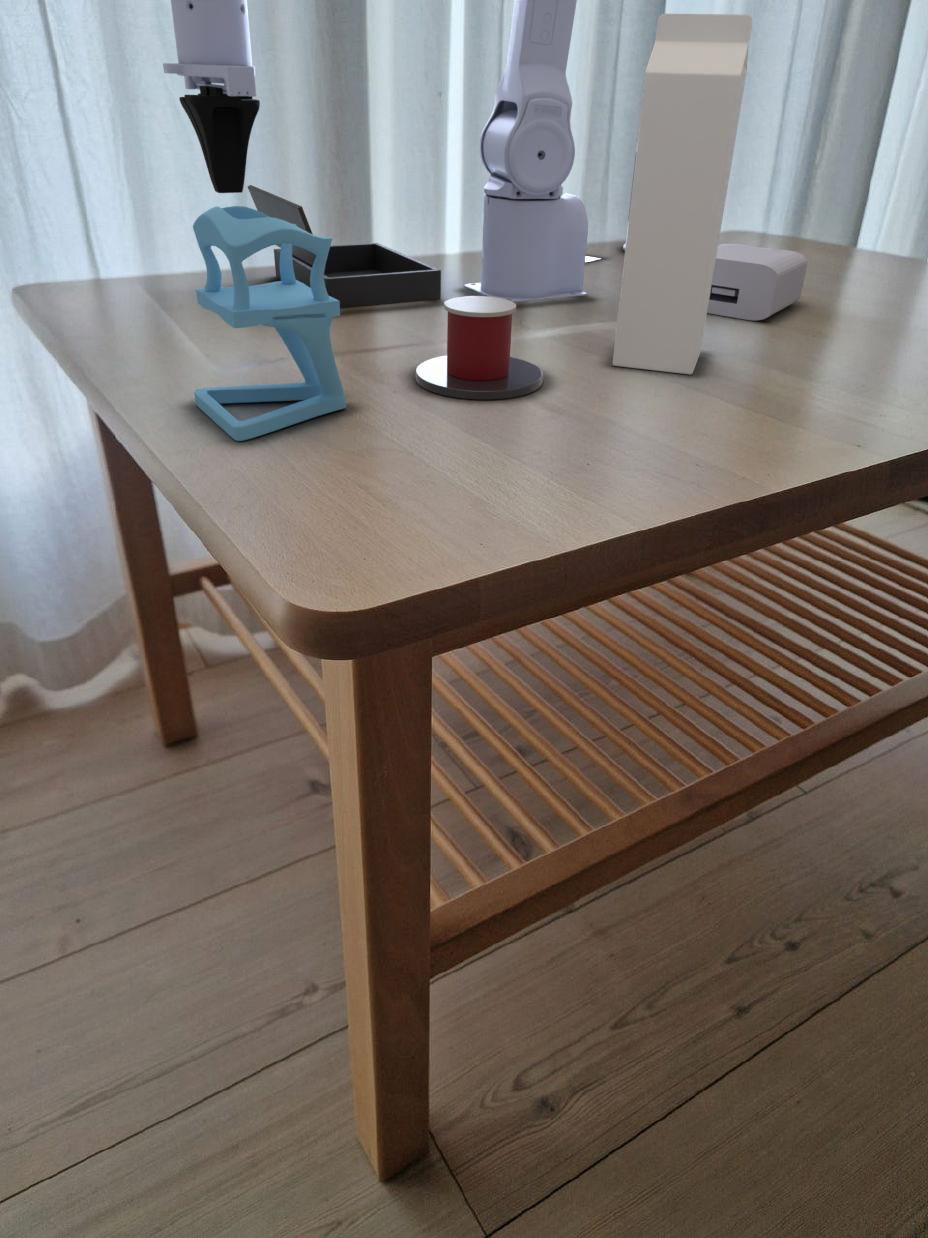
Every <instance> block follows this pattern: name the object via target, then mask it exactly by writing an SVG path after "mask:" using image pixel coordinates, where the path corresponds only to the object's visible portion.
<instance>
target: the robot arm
mask: <svg viewBox="0 0 928 1238" xmlns="http://www.w3.org/2000/svg"><path fill="white" fill-rule="evenodd" d="M577 2H578V0H513V9H512V17H511V25H510V34H509V40H508V50H507V58H506V66H505V68H504V71H503V74H502V76H501V78H500V81H499V83H498V85H497V88H496V91H495V97H494V103H493V104H494V105H493V108H492V113H491V115H490V116H489V118H488V120H487V121H486V123H485V125H484V127H483V128H482V132H481V134H480V138H479V155H480V159H481V160H480V161H481V162H482V165H483V168H484V169H485V170H486V172H487V173H488V174H489V178H488V180H487V183H486V184H485V185H484V187H483V193H484V194H483V205H482V206H483V207H482V208H483V209H482V210H483V211H482V237H481V239H482V240H481V266H480V267H481V268H480V269H481V270H480V282H474V283H465V284H464V285H463V287H464V288H465V289H468V290H471V291H473V292H474V293H477V294H480V295H481V296H489V297H497V298H503V299H507V300H510V301H512V302H514V303H523V302H532V301H543V300H554V299H563V298H564V299H565V298H573V297H584V296H587V295H588V293H587V292H585V291H583V289H584V279H585V277H584V276H585V267H586V262H585V258H586V256H587V247H588V246H587V245H588V234H589V220H588V214H587V210H586V206H585V205H584V203H583V201H582V200H581V199H580V198H579V196H577V195H575V194H572V193H564V186H562V185H563V184H564V183H565V182H566V180H567V179H568V177H569V176H570V173H571V171H572V169H573V166H574V163H575V157H576V145H575V140H574V136H573V132H572V125H571V115H572V108H573V98H572V94H571V90H570V87H569V82H568V78H567V66H568V60H569V54H570V48H571V40H572V35H573V27H574V21H575V15H576V7H577ZM170 5H171V11H172V12H171V13H172V14H171V15H172V22H173V29H174V31H173V32H174V39H175V47H176V56H177V63H174V62H173V63H171V62H169V63H168V62H163V63H162V67H163V68H162V69H163V73H164V74H173V75H175V74H176V75H177V76H180V77H183V78H184V79H183V80H184V86H185V89H186V90H197V91H199V93H197V94H184V96H180V97H178V98H179V102H180V105H181V108H183V110H184V112H185V114H186V115H187V117H188V119H189V121H190V124H191V125H192V128H193V129H194V132H195V134H196V136H197V139H198V142H199V145H200V148H201V151H202V155H203V157H204V161H205V165H206V168H207V172H208V175H209V178H210V181H211V184H212V187H213V189H214V191H215V193H217V194H236V193H237V194H238V193H239V194H240V193H243V191H244V185H245V178H246V169H247V158H248V149H249V143H250V138H251V135H252V134H251V133H252V129H253V126H254V123H255V121H256V117H257V115H258V113H259V110H260V106H261V104H260V103H261V102H260V100H259V99H255V97H257V88H256V75H257V73H256V66H255V65H253V56H252V47H251V46H252V45H251V44H252V43H251V31H250V22H249V21H250V20H249V10H248V9H249V8H248V0H170Z"/></svg>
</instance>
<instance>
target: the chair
mask: <svg viewBox="0 0 928 1238" xmlns="http://www.w3.org/2000/svg"><path fill="white" fill-rule="evenodd" d="M192 229H193V232H194V235H195V238H196V242H197V244H198V248H199V250H200V253H201V255H202V258H203V261H204V264H205V268H206V282H205V286H204V288H195V293H196V301H197V305H199V306H200V307H202V308H203V309H206V310H208V311H210V312H211V311H212V312H213V313H214V314H216V315H217V316H219V317H220V319H222V320H223V321H224V323H226V324H227V325H229V326H230V327H232V328H233V329H243V328H250V327H258V326H264V327H269V328H274V329H275V331H276V332H277V334H278V336H280V338H281V340H282V341H283V344H284V345H285V346H286V348H287V350H288V352H289V353H290V355H291V357H292V359H293V361H294V363H295V364H296V366H297V368H298V369H299V371H300V373H301V375H302V377H303V379H304V382H303V381H302V382H295V383H293V382H291V383H276V384H275V383H274V384H252V385H232V386H231V385H230V386H215V387H204V388H198V389H195V390H194V392H193V395H194V399H195V404H196V407H197V408H198V409H200V410H201V411H202V412H203V413H204V414H205V415H206V416H207V417H209V418H210V419H211V421H212V422H214V423H215V424H216V425H217V426H218V427H220V429H222V430H223V431H224V432H225V433H226V434H227V435H228V436H229V437H231V438H232V439H233V441H236V442H242V441H243V442H244V441H247V440H251V439H254V438H257V437H260V436H264V435H266V434H269V433H273V432H276V431H278V430H281V429H284V428H286V427H290V426H293V425H295V424H299V423H301V422H304V421H307V420H310V419H313V418H316V417H320V416H322V415H326V414H329V413H333V412H336V411H340V410H344V409H346V408H347V401H346V394H345V391H344V387H343V384H342V380H341V377H340V373H339V371H338V367H337V363H336V359H335V355H334V351H333V345H332V340H331V326H332V325H331V324H332V322H333V320H334V319H335V318H337V317H340V316H341V309H340V301H339V300H337V299H335V298H333V297H331V296H328V294H327V291H326V288H325V283H324V270H325V264H326V260H327V257H328V252H329V249H330V246H332V241H333V237H331V236H320V235H316V234H314V233H313V234H310V233H308V232H306V231H305V230H303V229H301V228H299V227H297V226H296V224H291V223H289V222H286V221H284V220H281V219H277V218H271V217H269V216H267V215H265V214H263V213H261V212H259V211H257V209H256V208H255V209H254V208H251V207H248V206H242V205H232V206H226V207H220V206H214V207H211V208H209V209H208V210H206V211H204V212H203V213H201V214H199V216H198V217H197V218H196V219H195V221H194V223H193V224H192ZM277 244H281V248H280V249H281V251H280V275H281V279H280V280H278V281H272V282H267V283H261V284H255V285H254V284H253V285H249V283H248V278H247V275H246V272H245V269H244V266H243V262H244V261H245V260H246V259H248V258H250V257H251V256H253V255H255V254H256V253H258V252H260V251H262V250H265V249H266V248H269V247H271V246H276V245H277ZM292 245H295V246H299V247H301V248H304V249H306V250H308V251H310V252H312V253H314V254H315V255H316V258H315V261H314V264H313V267H312V270H311V275H310V285H311V288H310V287H308V286H307V285H305V284H304V283H302V282H299V281H297V280H296V279H295V275H294V270H293V261H292ZM212 247H216V248H218V249H219V250H220V251H221V252H222V253H223V254H224V255H225V257H226V258H227V260H228V263H229V267H230V271H231V276H232V282H233V283H232V284H233V286H222V271H221V267H220V264H219V261H218V259H217V257H216V255H215V253H214V251H213V249H212ZM290 401H291V402H292V401H297V402H295V403H292V404H289V405H286V406H283V407H279V408H277V409H274V410H271V411H269V412H266V413H263V414H260V415H257V416H254V417H250V418H247V419H245V420H239V419H237V418H236V417H235V416H234V415H232V414H231V413H230V412H229V411H228V410H227V409H226V408H224V407H223V406H222V404H242V403H264V402H265V403H266V402H290Z"/></svg>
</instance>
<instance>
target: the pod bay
mask: <svg viewBox="0 0 928 1238" xmlns="http://www.w3.org/2000/svg"><path fill="white" fill-rule="evenodd" d="M280 251H281V248H274V249H273V256H274V257H273V258H274V259H273V260H274V270H275V271H274V272H275V277H276V278H277V279H278V280H281V275H280ZM292 261H293V270H294V275H295V279H296V280H297V281H299V282H302V283H304V284H305V285H307V286H308V287H310V288H311V285H310V275H311V270H312V267H313V266H312V265H310V264H309V263H307V262H305V261H303V260H301V259H300V258H298V257H296V256H294V255H293V254H292ZM325 266H326V269H327V270H325V271H324V283H325V288H326V291H327V294H328V296H331V297H333V298H335V299H337V300H339V301H340V310H342V309H352V308H361V307H362V308H363V307H373V306H384V305H395V304H396V305H397V304H407V303H417V302H428V301H438V300H439V301H440V300H441V298H442V270H441V269H439V268H437V267H434V266H432V265H429V264H427V263H425V262H422V261H420V260H418V259H416V258H413V257H411V256H409V255H406V254H405V253H401V252H399V251H397V250H394V249H393V248H391V247H387V246H385V245H384V244H381V243H379V242H368V243H353V244H352V243H351V244H336V245H335V244H334V245H333V244H332V245H330V249H329V252H328V257H327V260H326V264H325Z"/></svg>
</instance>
